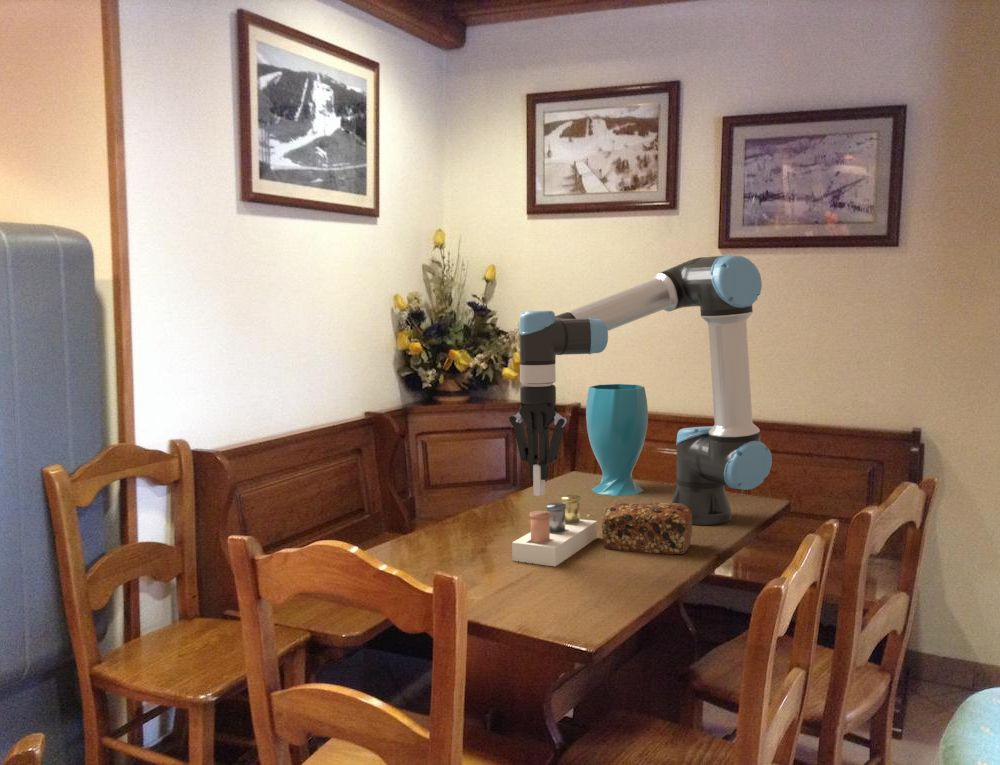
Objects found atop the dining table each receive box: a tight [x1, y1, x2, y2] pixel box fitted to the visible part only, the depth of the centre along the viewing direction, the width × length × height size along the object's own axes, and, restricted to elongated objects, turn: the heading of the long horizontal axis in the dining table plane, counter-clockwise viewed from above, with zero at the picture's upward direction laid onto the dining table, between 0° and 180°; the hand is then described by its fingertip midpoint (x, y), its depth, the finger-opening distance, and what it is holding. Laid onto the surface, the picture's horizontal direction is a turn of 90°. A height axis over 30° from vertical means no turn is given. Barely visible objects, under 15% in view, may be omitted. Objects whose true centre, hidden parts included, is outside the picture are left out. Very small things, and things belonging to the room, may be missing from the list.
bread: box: [601, 502, 693, 555], centre depth 197 cm, size 19×11×10 cm, turn 68°
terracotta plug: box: [529, 510, 550, 543], centre depth 189 cm, size 4×4×6 cm
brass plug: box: [560, 494, 582, 524], centre depth 204 cm, size 4×4×6 cm
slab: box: [511, 518, 598, 567], centre depth 197 cm, size 10×24×4 cm, turn 153°
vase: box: [585, 383, 649, 497], centre depth 254 cm, size 17×17×30 cm
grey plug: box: [545, 502, 566, 533], centre depth 197 cm, size 4×4×6 cm
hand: (539, 494), depth 188 cm, fingers closed
